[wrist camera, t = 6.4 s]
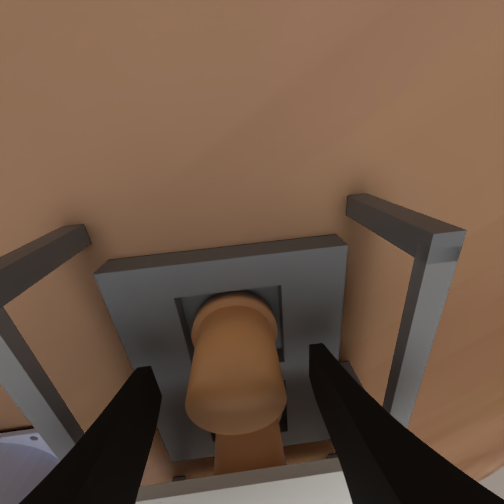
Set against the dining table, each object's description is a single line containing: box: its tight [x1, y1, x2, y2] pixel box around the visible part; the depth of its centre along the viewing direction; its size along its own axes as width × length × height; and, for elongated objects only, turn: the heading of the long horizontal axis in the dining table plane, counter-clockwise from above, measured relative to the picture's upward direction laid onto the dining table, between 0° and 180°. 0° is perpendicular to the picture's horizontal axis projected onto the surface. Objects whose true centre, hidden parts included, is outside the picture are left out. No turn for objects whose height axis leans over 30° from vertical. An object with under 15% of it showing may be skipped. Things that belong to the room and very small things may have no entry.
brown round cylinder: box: [185, 291, 287, 435], centre depth 12 cm, size 5×5×5 cm
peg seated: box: [213, 414, 286, 476], centre depth 15 cm, size 5×5×5 cm
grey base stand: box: [0, 194, 467, 482], centre depth 14 cm, size 15×24×6 cm, turn 5°
